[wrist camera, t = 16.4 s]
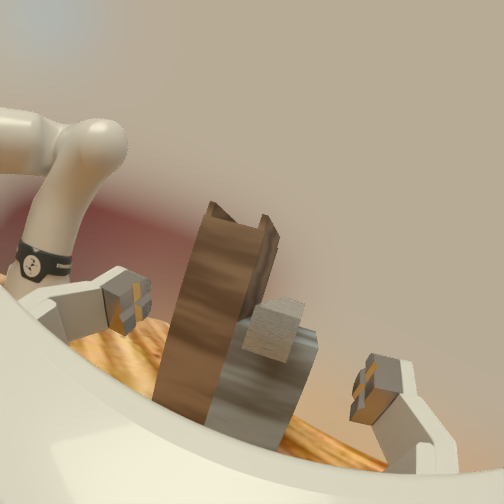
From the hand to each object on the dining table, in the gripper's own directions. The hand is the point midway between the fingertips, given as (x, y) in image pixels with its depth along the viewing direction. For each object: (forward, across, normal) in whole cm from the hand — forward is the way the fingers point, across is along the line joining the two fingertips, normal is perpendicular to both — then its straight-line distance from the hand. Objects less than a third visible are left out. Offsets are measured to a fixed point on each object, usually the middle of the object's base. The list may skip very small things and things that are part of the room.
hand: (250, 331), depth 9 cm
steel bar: (+15, 0, -12) cm, 20 cm away
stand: (+9, -4, -28) cm, 30 cm away
